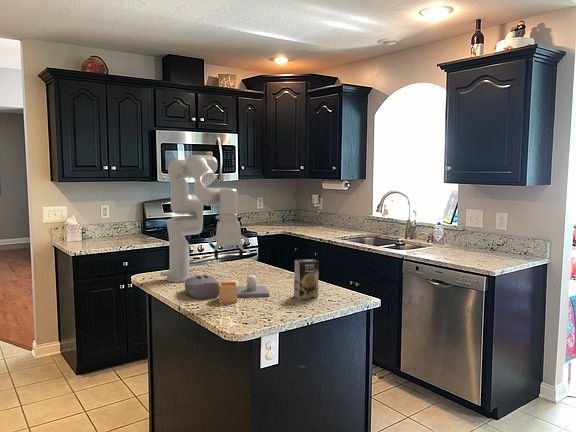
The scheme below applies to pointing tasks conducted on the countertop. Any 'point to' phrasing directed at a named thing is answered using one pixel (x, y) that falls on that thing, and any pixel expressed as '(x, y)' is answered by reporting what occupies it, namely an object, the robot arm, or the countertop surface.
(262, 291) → the gray plate with knob
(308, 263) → the coffee box
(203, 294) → the soft grey pack
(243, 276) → the countertop surface
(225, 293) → the orange cube cubby
